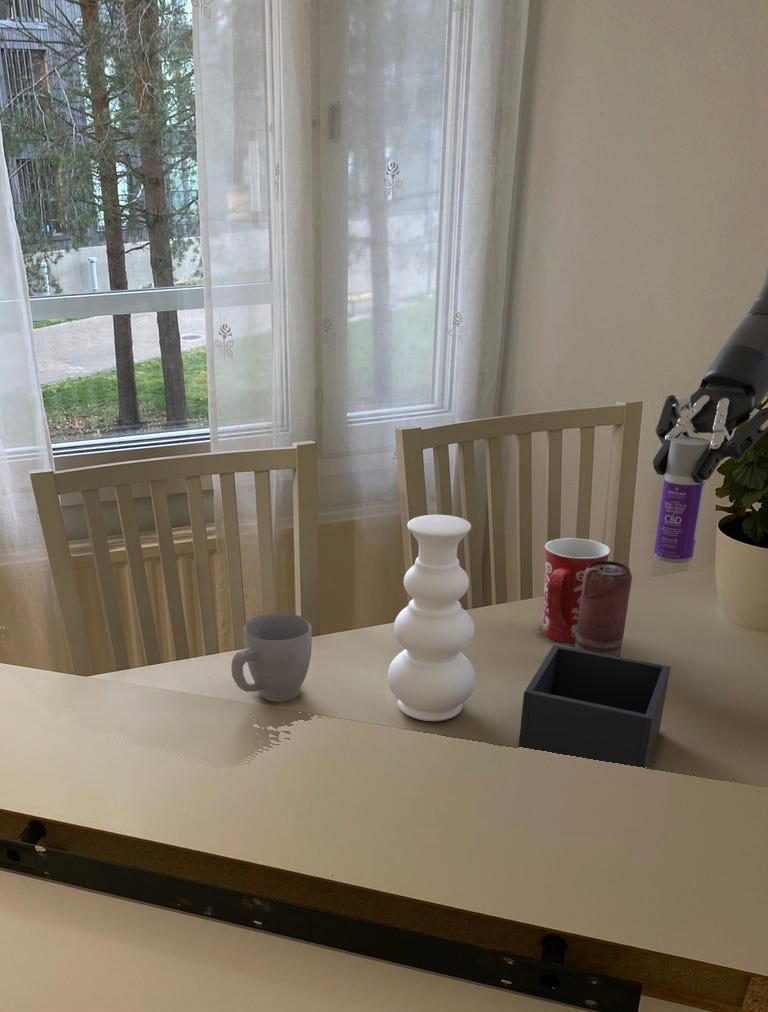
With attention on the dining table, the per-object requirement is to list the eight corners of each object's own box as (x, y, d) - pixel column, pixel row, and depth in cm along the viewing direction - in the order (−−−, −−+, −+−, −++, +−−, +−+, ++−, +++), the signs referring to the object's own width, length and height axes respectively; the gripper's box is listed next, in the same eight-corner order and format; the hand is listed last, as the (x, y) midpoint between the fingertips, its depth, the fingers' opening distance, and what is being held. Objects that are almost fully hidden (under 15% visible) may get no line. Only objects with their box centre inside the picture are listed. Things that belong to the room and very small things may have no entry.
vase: (372, 698, 119) (376, 514, 109) (445, 682, 123) (456, 503, 112) (411, 738, 110) (420, 542, 99) (489, 720, 114) (505, 529, 103)
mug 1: (282, 670, 127) (280, 607, 123) (326, 692, 121) (326, 626, 117) (214, 699, 120) (210, 633, 116) (257, 724, 114) (254, 655, 110)
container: (655, 562, 116) (672, 444, 110) (651, 550, 120) (667, 436, 114) (695, 564, 115) (714, 445, 108) (689, 551, 119) (708, 436, 113)
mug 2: (551, 615, 142) (560, 533, 136) (608, 629, 137) (620, 544, 131) (514, 643, 133) (522, 557, 128) (574, 660, 128) (585, 570, 122)
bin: (659, 732, 110) (670, 666, 106) (640, 790, 99) (652, 719, 96) (546, 707, 116) (553, 644, 112) (517, 760, 105) (523, 691, 102)
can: (563, 655, 129) (574, 563, 123) (600, 648, 131) (612, 556, 125) (590, 674, 124) (603, 578, 118) (628, 665, 126) (642, 571, 120)
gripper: (687, 337, 116) (616, 447, 115) (799, 347, 105) (722, 468, 104) (705, 375, 121) (636, 481, 120) (814, 389, 110) (739, 505, 109)
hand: (676, 474), depth 112 cm, fingers closed on container, 4 cm apart
